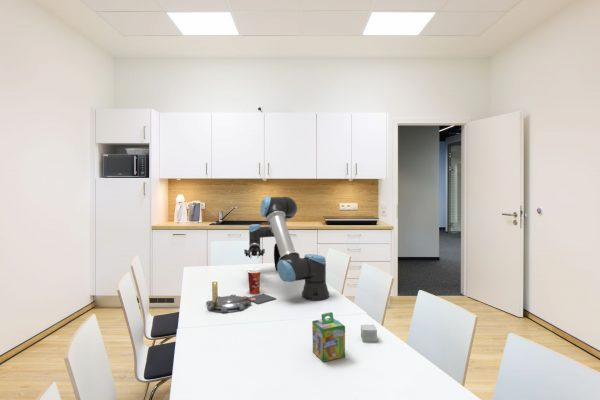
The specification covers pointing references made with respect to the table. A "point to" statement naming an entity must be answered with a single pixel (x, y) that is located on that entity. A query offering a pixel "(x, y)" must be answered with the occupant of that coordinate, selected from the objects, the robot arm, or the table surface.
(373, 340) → the small box
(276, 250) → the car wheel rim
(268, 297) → the marked pad
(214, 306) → the sprocket
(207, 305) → the sprocket base
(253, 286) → the paper cup
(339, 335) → the chalk box
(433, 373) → the table surface
